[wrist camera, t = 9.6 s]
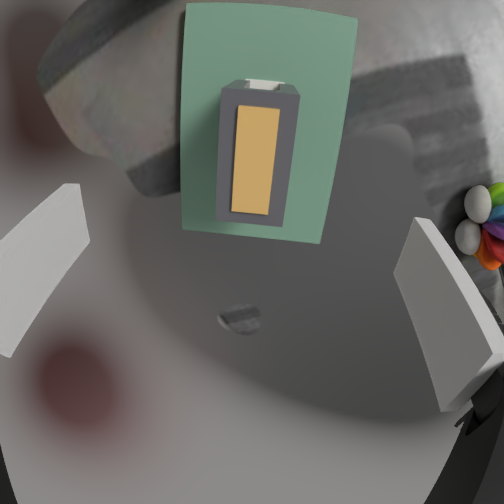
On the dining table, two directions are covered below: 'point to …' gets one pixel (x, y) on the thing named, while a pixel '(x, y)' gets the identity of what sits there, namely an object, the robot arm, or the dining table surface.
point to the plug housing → (255, 152)
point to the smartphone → (502, 271)
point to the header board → (268, 78)
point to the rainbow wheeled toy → (483, 225)
